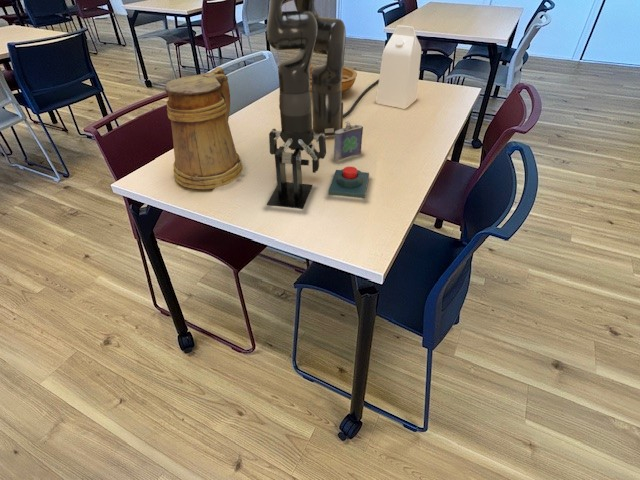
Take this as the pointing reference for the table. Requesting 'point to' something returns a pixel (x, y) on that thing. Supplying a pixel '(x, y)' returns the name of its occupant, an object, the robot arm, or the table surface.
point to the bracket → (289, 183)
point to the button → (349, 172)
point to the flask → (348, 141)
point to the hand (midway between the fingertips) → (298, 170)
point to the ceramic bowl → (347, 78)
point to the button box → (349, 185)
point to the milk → (400, 69)
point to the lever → (288, 159)
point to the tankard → (202, 130)
